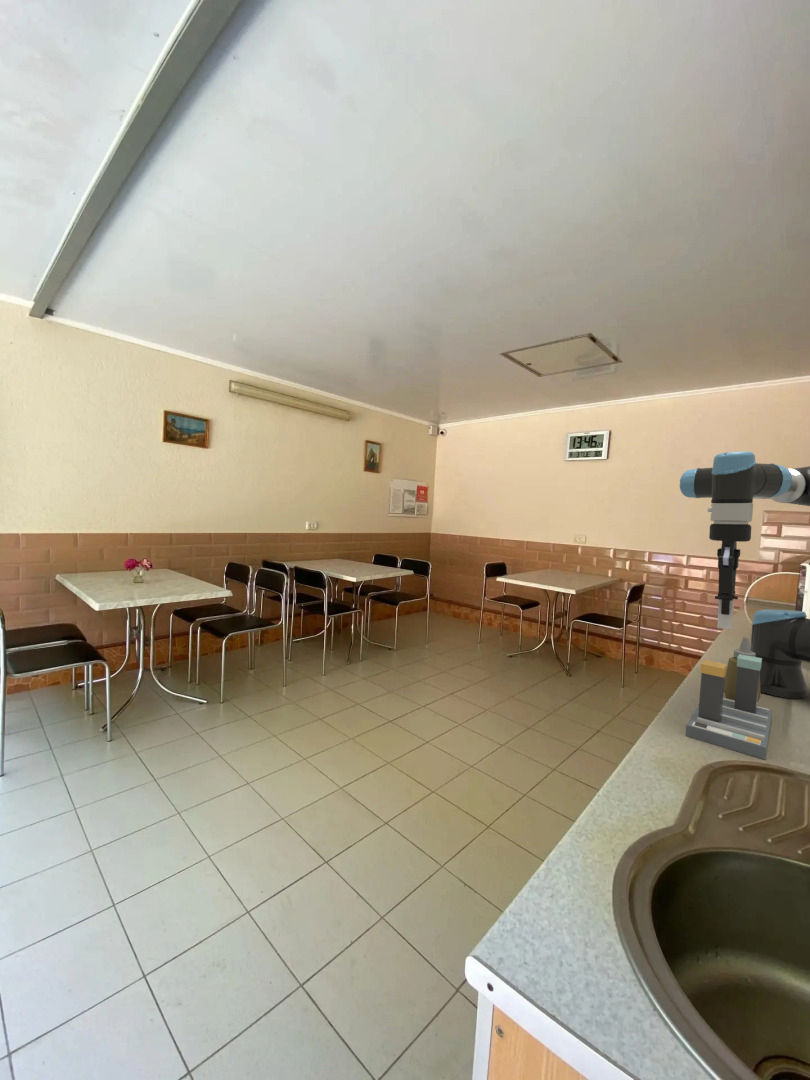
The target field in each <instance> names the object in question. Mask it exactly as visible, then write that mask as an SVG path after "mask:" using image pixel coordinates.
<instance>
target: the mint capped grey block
mask: <svg viewBox="0 0 810 1080" xmlns="http://www.w3.org/2000/svg"><path fill="white" fill-rule="evenodd" d="M761 664H762V658H757V657H752V656H747V655H742V654H739V656H738V658H737V666H738V670H737V682H736V694H735V706H734V709H738V710H742V711H746V712H750V713H754V714H756V709H757V706H758V703H757V697H758V686H759V674H760V669H761Z"/></svg>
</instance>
